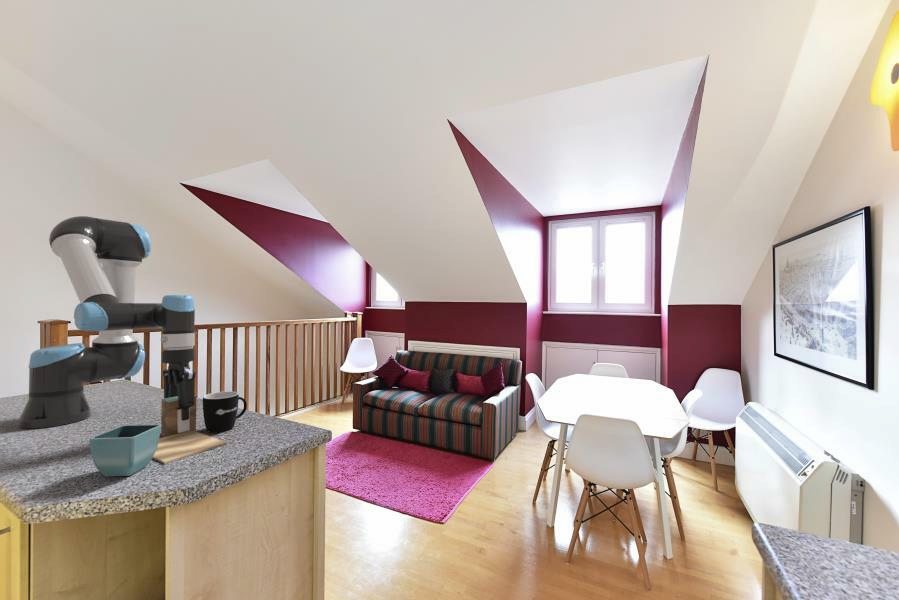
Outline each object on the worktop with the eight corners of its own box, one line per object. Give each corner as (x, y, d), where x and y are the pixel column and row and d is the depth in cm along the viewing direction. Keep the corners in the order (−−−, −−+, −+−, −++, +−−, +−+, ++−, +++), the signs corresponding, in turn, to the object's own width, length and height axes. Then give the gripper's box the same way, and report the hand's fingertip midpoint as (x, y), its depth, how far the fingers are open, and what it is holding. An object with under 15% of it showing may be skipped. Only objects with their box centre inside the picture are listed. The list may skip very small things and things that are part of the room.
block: (160, 434, 102) (161, 399, 102) (188, 427, 108) (189, 393, 108) (168, 437, 100) (168, 401, 100) (195, 430, 106) (196, 395, 106)
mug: (211, 437, 101) (212, 400, 101) (196, 430, 105) (196, 395, 106) (254, 425, 111) (254, 391, 111) (238, 419, 116) (239, 388, 116)
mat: (130, 448, 92) (130, 446, 92) (191, 431, 104) (191, 430, 104) (164, 464, 83) (164, 461, 83) (226, 444, 96) (226, 442, 96)
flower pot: (121, 463, 84) (122, 424, 84) (162, 462, 84) (162, 423, 85) (86, 482, 75) (87, 438, 75) (132, 480, 76) (133, 437, 76)
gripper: (148, 349, 106) (148, 430, 105) (179, 350, 97) (179, 438, 96) (178, 346, 112) (178, 422, 111) (209, 347, 104) (209, 430, 103)
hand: (179, 430), depth 104 cm, fingers open, 4 cm apart
